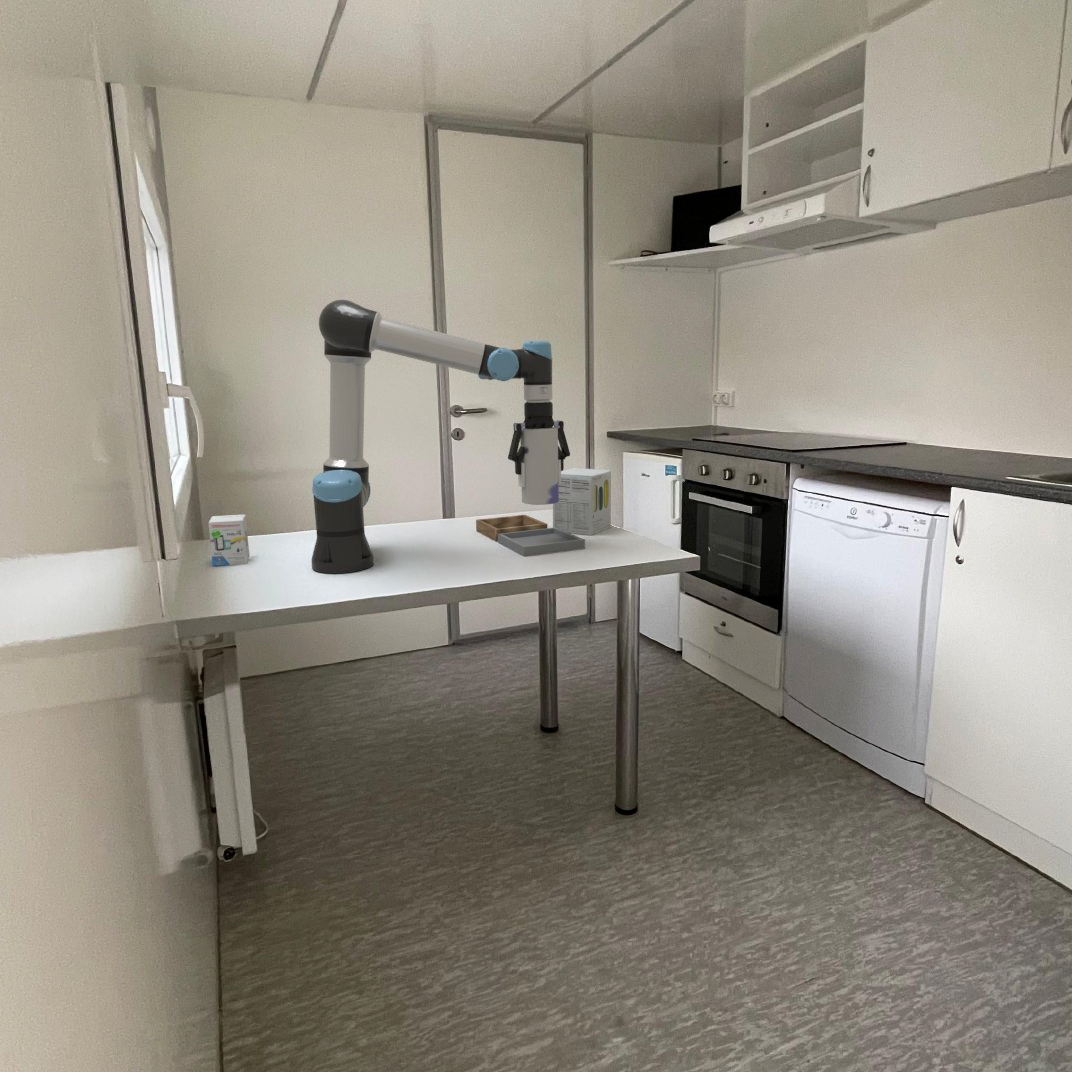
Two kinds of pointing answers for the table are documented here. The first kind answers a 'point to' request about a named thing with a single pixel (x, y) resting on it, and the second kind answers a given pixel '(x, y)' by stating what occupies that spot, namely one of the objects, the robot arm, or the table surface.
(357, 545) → the robot arm
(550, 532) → the tray
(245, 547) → the ink box
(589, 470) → the supplement box
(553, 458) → the container
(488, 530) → the frame
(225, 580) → the table surface
